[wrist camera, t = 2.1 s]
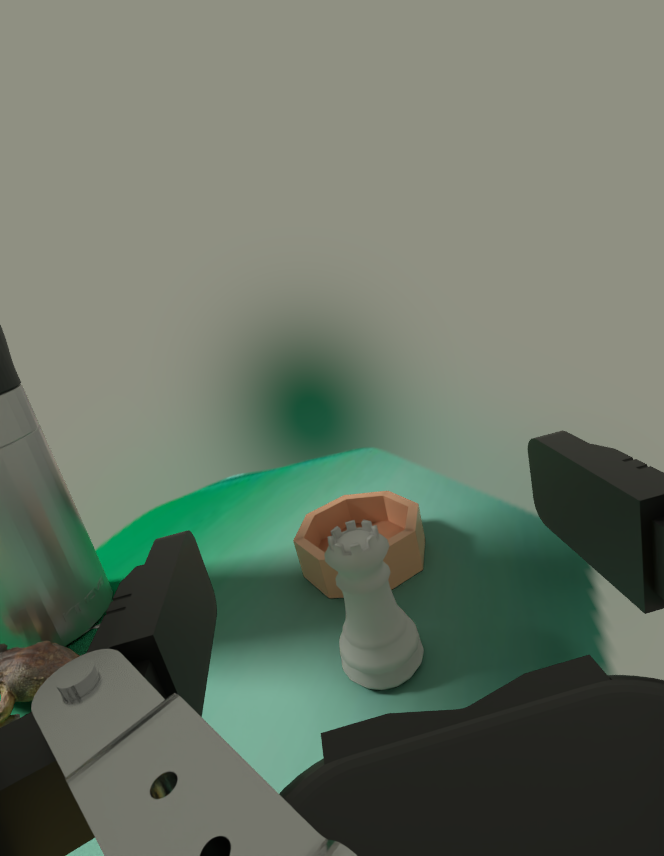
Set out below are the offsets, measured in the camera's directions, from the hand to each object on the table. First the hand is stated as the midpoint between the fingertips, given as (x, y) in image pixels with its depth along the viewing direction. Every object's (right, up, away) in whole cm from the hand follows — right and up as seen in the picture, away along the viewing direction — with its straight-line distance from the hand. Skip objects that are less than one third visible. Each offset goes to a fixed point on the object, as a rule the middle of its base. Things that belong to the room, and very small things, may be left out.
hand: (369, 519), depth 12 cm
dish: (+2, -7, +25) cm, 26 cm away
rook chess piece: (+2, -11, +15) cm, 19 cm away
